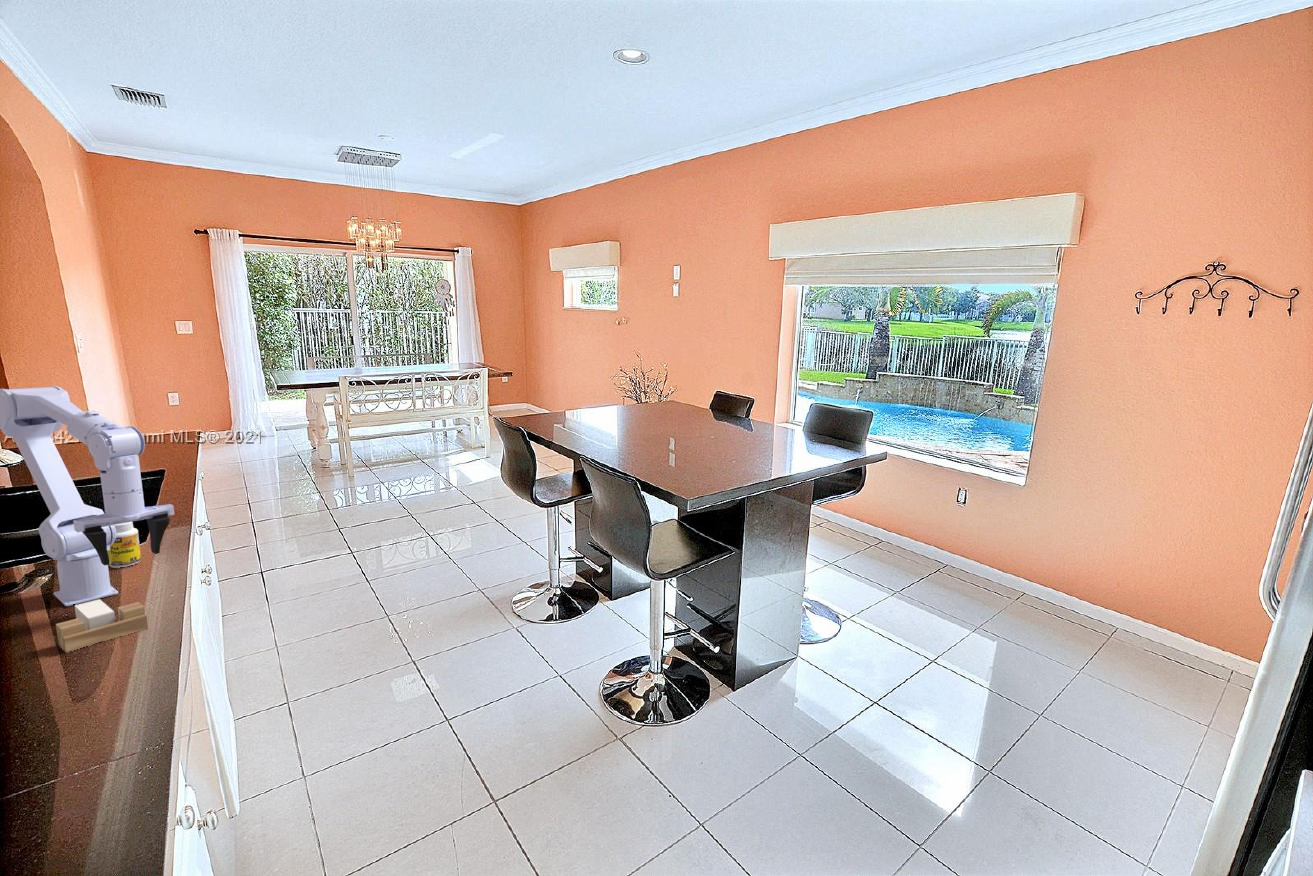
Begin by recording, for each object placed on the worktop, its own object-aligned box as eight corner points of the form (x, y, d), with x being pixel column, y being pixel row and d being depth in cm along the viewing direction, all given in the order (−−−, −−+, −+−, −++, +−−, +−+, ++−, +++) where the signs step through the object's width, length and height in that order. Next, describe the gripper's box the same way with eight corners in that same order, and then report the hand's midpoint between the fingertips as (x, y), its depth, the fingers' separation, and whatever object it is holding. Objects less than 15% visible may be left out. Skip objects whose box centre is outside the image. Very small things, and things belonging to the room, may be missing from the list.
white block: (77, 625, 111) (74, 605, 110) (102, 619, 113) (99, 599, 113) (91, 639, 106) (88, 618, 105) (116, 632, 109) (114, 611, 108)
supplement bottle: (107, 570, 135) (102, 527, 134) (112, 562, 140) (107, 520, 138) (139, 566, 138) (134, 524, 137) (143, 558, 143) (138, 517, 141)
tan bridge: (58, 645, 103) (55, 624, 103) (140, 621, 113) (138, 602, 112) (65, 653, 101) (62, 631, 101) (148, 628, 110) (146, 608, 110)
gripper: (77, 501, 106) (87, 574, 108) (176, 486, 118) (184, 552, 120) (66, 495, 110) (76, 565, 112) (163, 481, 122) (170, 545, 124)
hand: (131, 558), depth 116 cm, fingers open, 7 cm apart
